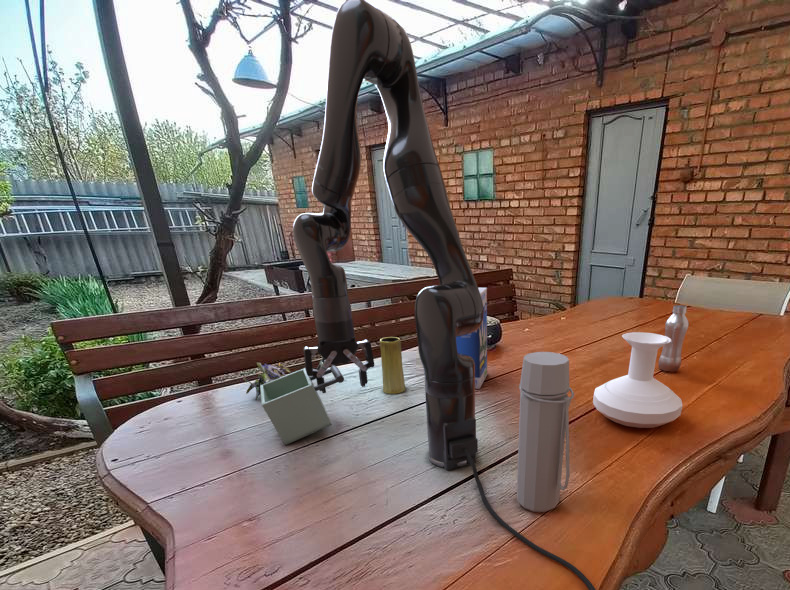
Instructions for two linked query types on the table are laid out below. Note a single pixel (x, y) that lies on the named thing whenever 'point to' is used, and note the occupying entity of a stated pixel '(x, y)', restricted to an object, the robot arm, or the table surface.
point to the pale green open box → (297, 404)
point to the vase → (392, 365)
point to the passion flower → (267, 376)
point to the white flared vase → (639, 388)
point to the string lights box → (477, 345)
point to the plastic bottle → (674, 339)
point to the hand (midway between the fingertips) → (343, 388)
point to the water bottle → (543, 430)
